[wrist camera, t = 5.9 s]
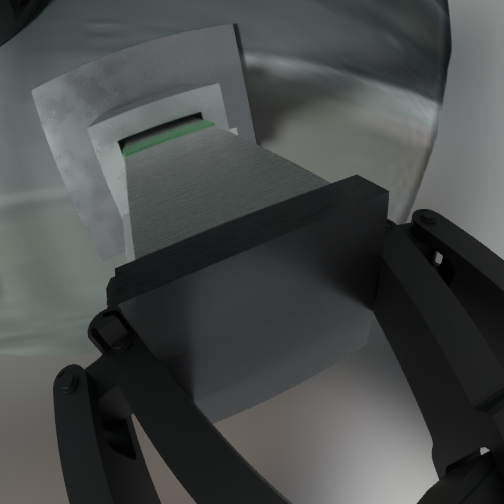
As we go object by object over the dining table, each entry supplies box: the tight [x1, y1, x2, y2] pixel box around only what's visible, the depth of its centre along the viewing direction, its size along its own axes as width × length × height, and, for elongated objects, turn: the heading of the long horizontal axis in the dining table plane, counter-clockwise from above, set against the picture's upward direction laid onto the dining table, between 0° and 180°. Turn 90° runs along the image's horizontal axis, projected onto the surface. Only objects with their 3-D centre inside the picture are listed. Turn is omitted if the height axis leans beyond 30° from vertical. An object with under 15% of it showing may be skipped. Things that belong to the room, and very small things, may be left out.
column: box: [115, 115, 389, 424], centre depth 16 cm, size 6×6×21 cm
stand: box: [32, 24, 256, 261], centre depth 25 cm, size 22×22×11 cm
